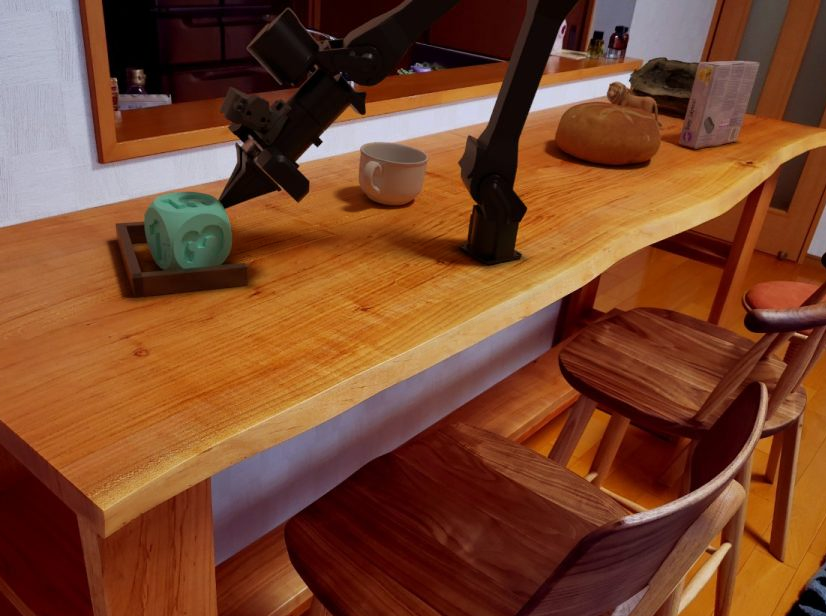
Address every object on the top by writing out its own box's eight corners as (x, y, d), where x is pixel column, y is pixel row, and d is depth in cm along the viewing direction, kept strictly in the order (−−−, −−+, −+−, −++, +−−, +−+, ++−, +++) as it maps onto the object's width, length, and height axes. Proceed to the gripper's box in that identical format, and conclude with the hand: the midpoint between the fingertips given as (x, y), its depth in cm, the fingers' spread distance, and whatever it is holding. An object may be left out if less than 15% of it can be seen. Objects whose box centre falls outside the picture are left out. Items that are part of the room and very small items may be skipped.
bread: (686, 168, 151) (701, 117, 146) (590, 173, 143) (601, 120, 138) (617, 138, 169) (627, 92, 164) (528, 141, 161) (536, 93, 156)
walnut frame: (217, 233, 104) (216, 216, 103) (248, 285, 90) (247, 266, 89) (117, 241, 99) (115, 223, 98) (134, 297, 85) (131, 277, 84)
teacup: (385, 184, 128) (389, 137, 124) (437, 201, 122) (442, 152, 118) (330, 202, 118) (331, 151, 114) (383, 220, 113) (386, 168, 109)
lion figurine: (598, 120, 184) (607, 81, 180) (604, 116, 188) (612, 78, 184) (659, 130, 179) (669, 91, 174) (663, 126, 183) (673, 88, 178)
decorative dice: (146, 257, 95) (140, 196, 91) (204, 246, 100) (201, 187, 95) (174, 281, 90) (169, 217, 86) (234, 267, 94) (231, 206, 90)
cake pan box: (721, 136, 178) (744, 57, 169) (740, 141, 175) (765, 61, 166) (675, 145, 168) (697, 61, 158) (694, 150, 164) (718, 65, 155)
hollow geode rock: (721, 143, 192) (755, 97, 192) (714, 111, 182) (750, 62, 183) (629, 115, 210) (661, 73, 210) (618, 85, 200) (651, 40, 200)
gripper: (243, 50, 94) (158, 140, 96) (284, 81, 79) (184, 187, 81) (301, 113, 101) (222, 197, 102) (349, 153, 86) (256, 249, 88)
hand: (220, 206), depth 93 cm, fingers closed
